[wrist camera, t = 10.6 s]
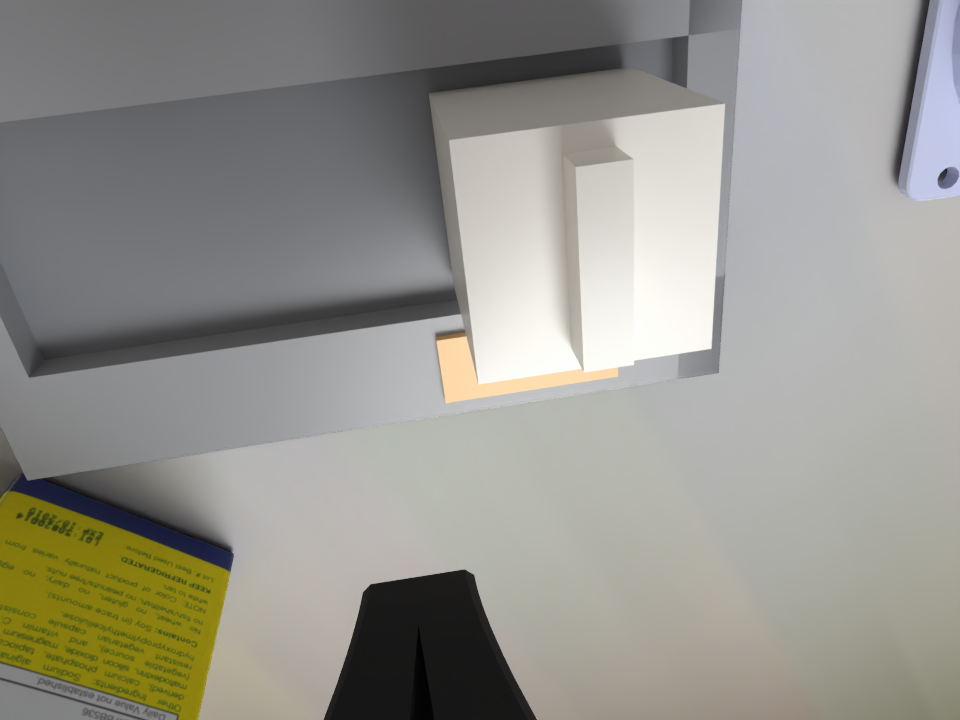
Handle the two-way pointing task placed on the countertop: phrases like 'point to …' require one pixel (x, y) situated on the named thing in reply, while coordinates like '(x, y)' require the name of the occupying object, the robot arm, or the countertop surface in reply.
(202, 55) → the switch board
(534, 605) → the countertop surface
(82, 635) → the supplement box
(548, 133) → the tab
